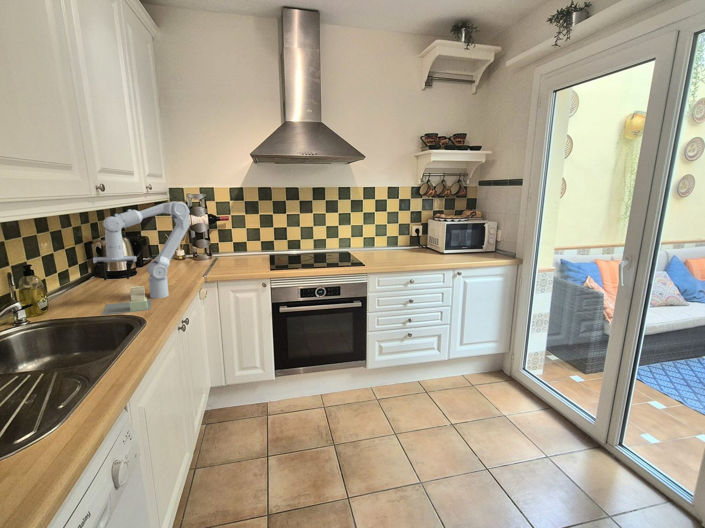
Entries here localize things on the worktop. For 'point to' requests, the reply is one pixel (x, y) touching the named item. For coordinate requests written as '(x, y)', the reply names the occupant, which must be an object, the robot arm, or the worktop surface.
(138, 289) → the cream block
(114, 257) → the robot arm
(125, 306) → the build plate
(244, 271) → the worktop surface
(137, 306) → the base block
